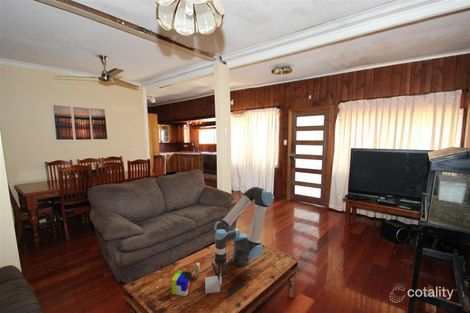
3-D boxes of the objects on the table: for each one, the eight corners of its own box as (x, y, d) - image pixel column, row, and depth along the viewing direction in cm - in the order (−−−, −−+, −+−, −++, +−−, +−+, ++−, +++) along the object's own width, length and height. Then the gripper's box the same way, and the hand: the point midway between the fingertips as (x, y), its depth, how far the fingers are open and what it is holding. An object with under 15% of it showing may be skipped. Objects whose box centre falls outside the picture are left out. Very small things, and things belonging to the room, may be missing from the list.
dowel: (199, 274, 161) (199, 262, 160) (199, 277, 157) (199, 265, 156) (194, 275, 160) (194, 262, 159) (194, 278, 157) (194, 265, 156)
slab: (218, 280, 155) (218, 275, 155) (220, 292, 144) (220, 287, 143) (204, 281, 154) (204, 277, 153) (205, 294, 142) (205, 289, 142)
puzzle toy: (185, 296, 139) (185, 282, 138) (171, 293, 141) (171, 279, 140) (191, 285, 149) (191, 272, 148) (178, 283, 151) (178, 270, 150)
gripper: (229, 248, 152) (228, 279, 154) (210, 250, 149) (210, 281, 152) (230, 254, 144) (230, 286, 147) (211, 256, 142) (211, 288, 144)
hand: (220, 283), depth 149 cm, fingers closed
